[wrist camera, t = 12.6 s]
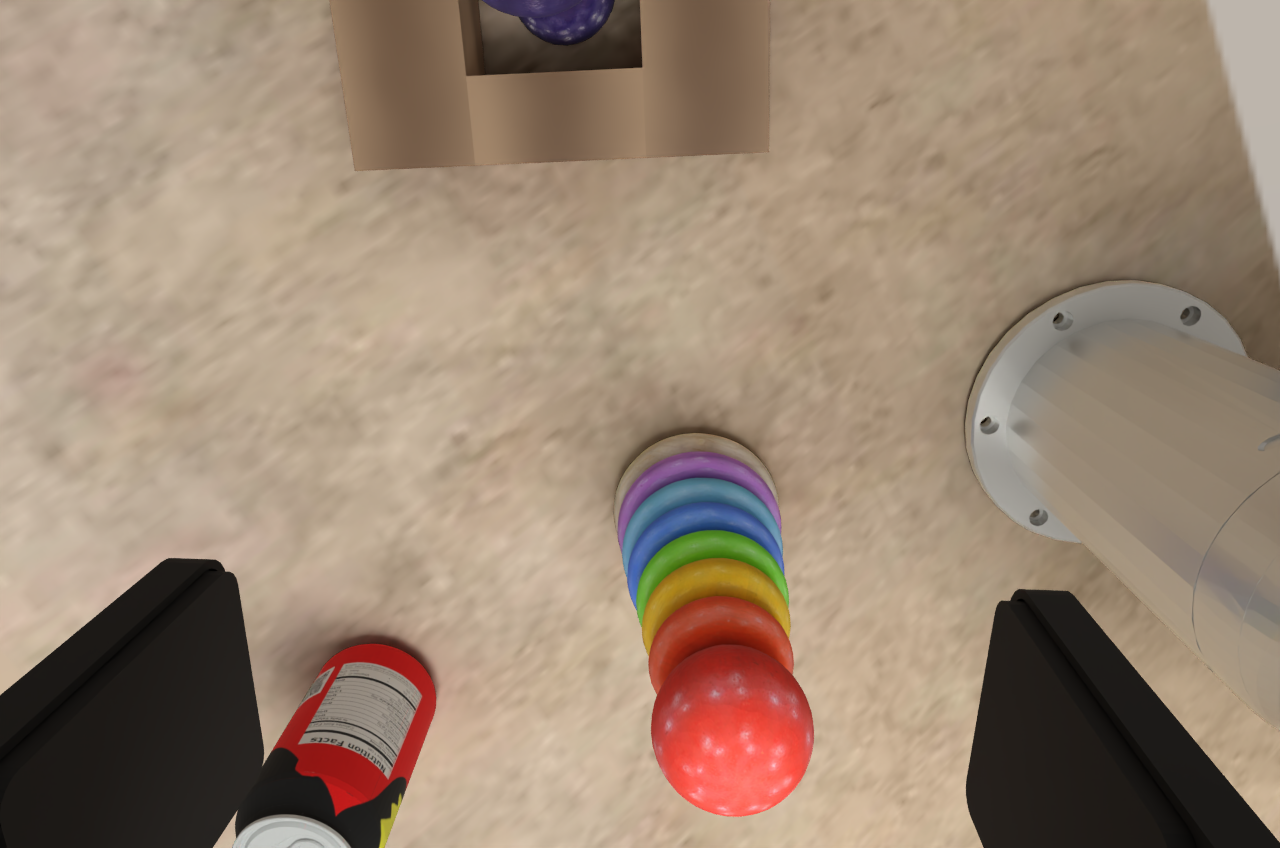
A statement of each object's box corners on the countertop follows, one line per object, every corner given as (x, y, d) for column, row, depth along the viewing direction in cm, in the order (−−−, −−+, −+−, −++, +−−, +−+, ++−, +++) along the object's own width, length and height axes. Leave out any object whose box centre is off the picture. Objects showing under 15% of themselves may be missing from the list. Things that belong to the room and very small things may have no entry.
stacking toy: (627, 582, 44) (608, 898, 26) (603, 437, 41) (564, 678, 23) (782, 565, 43) (870, 874, 26) (768, 417, 41) (856, 647, 23)
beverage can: (299, 680, 46) (183, 862, 35) (376, 611, 44) (281, 779, 33) (387, 750, 47) (303, 948, 36) (465, 686, 46) (403, 872, 35)
